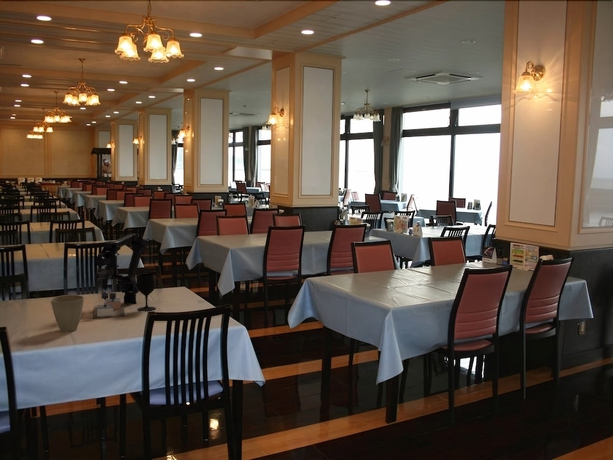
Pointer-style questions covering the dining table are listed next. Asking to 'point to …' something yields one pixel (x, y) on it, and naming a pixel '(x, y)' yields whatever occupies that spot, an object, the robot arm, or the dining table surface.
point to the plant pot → (67, 311)
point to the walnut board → (116, 313)
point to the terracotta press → (114, 303)
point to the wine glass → (146, 288)
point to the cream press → (105, 310)
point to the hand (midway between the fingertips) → (112, 291)
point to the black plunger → (104, 297)
